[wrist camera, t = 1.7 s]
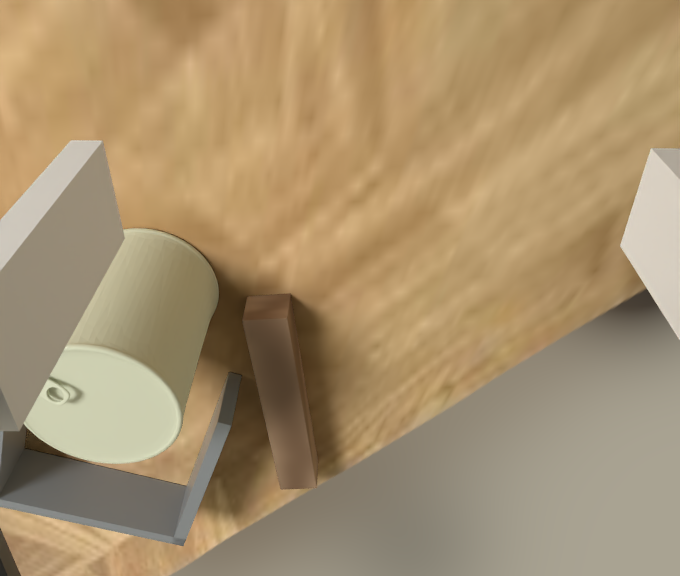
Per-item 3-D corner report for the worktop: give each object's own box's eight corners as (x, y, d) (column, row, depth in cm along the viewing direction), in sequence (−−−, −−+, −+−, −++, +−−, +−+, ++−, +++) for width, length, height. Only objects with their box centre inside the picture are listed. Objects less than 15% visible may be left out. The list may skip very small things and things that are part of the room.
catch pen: (11, 452, 54) (-17, 503, 50) (24, 316, 45) (-8, 364, 41) (195, 495, 57) (183, 546, 53) (241, 375, 48) (231, 425, 44)
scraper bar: (283, 460, 55) (280, 489, 52) (248, 293, 44) (241, 320, 42) (318, 458, 55) (316, 487, 52) (290, 290, 44) (287, 318, 42)
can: (121, 201, 40) (46, 322, 30) (245, 276, 43) (213, 408, 33) (60, 293, 44) (-22, 425, 34) (177, 355, 47) (132, 492, 38)
